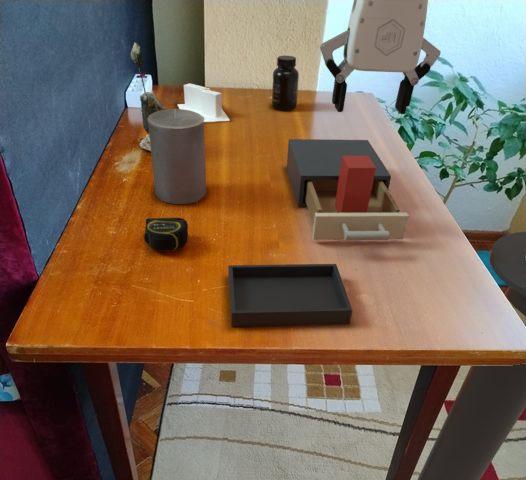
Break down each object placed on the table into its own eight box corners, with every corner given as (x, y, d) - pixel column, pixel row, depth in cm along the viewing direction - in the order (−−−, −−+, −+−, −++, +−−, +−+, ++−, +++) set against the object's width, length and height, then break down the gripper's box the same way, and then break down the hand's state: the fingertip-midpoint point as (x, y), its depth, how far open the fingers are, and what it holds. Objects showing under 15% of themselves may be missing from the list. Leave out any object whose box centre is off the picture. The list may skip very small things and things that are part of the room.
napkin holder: (176, 104, 131) (174, 80, 127) (217, 102, 134) (217, 79, 130) (186, 123, 121) (185, 98, 117) (231, 120, 124) (231, 96, 120)
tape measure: (188, 234, 82) (187, 213, 80) (188, 256, 77) (186, 235, 75) (147, 234, 82) (144, 214, 79) (144, 256, 77) (141, 235, 74)
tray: (334, 276, 75) (336, 263, 73) (349, 323, 67) (352, 310, 65) (228, 278, 73) (228, 265, 72) (231, 327, 65) (231, 313, 64)
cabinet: (384, 207, 93) (391, 175, 88) (298, 207, 91) (301, 175, 87) (362, 168, 105) (367, 139, 101) (286, 168, 104) (288, 139, 100)
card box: (359, 205, 88) (368, 155, 82) (365, 218, 85) (376, 167, 79) (334, 205, 88) (342, 155, 82) (340, 218, 84) (348, 167, 78)
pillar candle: (151, 185, 95) (141, 102, 85) (200, 180, 98) (196, 99, 88) (161, 208, 89) (151, 121, 78) (213, 201, 91) (210, 117, 81)
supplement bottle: (287, 102, 137) (290, 53, 129) (301, 109, 133) (305, 59, 124) (266, 105, 134) (268, 55, 126) (280, 112, 130) (283, 61, 122)
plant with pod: (138, 159, 104) (124, 51, 90) (139, 139, 112) (126, 38, 98) (177, 158, 105) (168, 52, 91) (175, 138, 113) (166, 38, 100)
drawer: (410, 252, 79) (417, 228, 76) (317, 253, 78) (320, 229, 75) (377, 194, 94) (382, 173, 91) (299, 194, 93) (301, 172, 90)
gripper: (336, -31, 59) (317, 117, 71) (471, -23, 61) (431, 120, 73) (325, -38, 65) (309, 100, 77) (449, -31, 67) (415, 104, 78)
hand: (369, 110), depth 75 cm, fingers open, 9 cm apart
